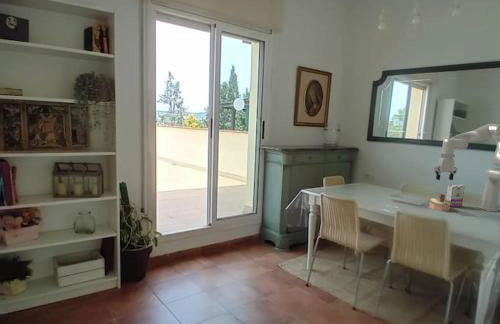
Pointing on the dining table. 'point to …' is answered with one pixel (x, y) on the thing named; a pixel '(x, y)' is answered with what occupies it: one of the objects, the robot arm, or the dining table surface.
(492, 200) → the robot arm
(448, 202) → the lid
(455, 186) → the candy bar box
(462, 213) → the mat
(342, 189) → the dining table surface
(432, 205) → the bowl
